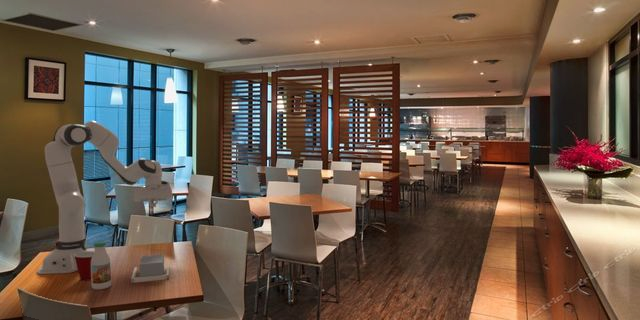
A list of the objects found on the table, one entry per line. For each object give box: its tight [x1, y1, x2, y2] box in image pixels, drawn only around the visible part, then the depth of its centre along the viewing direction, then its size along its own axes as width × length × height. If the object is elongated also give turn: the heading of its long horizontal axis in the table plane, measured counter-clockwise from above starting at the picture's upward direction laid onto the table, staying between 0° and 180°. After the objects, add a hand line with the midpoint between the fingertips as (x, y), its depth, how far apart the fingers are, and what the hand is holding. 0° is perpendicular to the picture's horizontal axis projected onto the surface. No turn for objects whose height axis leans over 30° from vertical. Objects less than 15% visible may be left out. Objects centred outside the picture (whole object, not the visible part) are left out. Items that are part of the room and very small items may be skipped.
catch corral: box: [130, 263, 170, 284], centre depth 212 cm, size 16×17×2 cm
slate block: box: [139, 253, 165, 277], centre depth 211 cm, size 10×14×8 cm
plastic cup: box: [74, 250, 94, 281], centre depth 207 cm, size 11×11×12 cm
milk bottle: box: [90, 240, 112, 291], centre depth 196 cm, size 8×8×20 cm
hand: (153, 206), depth 240 cm, fingers closed
